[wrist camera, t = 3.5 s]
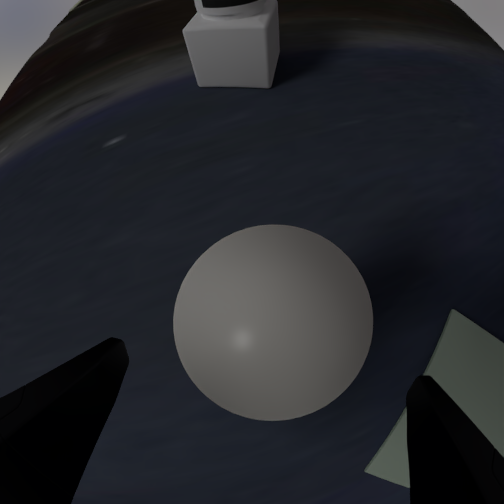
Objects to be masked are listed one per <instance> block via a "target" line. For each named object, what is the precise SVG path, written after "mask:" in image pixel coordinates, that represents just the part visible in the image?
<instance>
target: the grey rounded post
mask: <svg viewBox="0 0 504 504" xmlns="http://www.w3.org/2000/svg"><path fill="white" fill-rule="evenodd" d="M173 325H174V338H175V344H176V348H177V351H178V355H179V357H180V360H181V362H182V364H183V367H184V369H185V370H186V372H187V374H188V375H189V377H190V378H191V380H192V381H193V382H194V384H195V385H196V386H197V387H198V388H199V390H200V391H201V392H203V393H204V394H205V395H206V396H207V397H208V398H209V399H210V400H212V401H213V402H215V403H216V404H217V405H219V406H220V407H222V408H224V409H226V410H228V411H230V412H232V413H235V414H238V415H240V416H243V417H247V418H251V419H256V420H267V421H278V420H288V419H293V418H298V417H301V416H304V415H307V414H310V413H313V412H315V411H317V410H319V409H321V408H322V407H324V406H326V405H327V404H329V403H330V402H332V401H333V400H335V399H336V398H337V397H338V396H339V395H340V394H341V393H343V392H344V391H345V390H346V389H347V388H348V386H349V385H350V384H351V383H352V381H353V380H354V379H355V378H356V376H357V374H358V373H359V371H360V369H361V368H362V366H363V364H364V361H365V359H366V357H367V355H368V351H369V348H370V344H371V339H372V332H373V311H372V304H371V299H370V296H369V292H368V289H367V287H366V284H365V282H364V280H363V278H362V276H361V274H360V272H359V271H358V269H357V267H356V266H355V265H354V264H353V262H352V261H351V260H350V258H349V257H348V256H347V255H346V254H345V253H344V252H343V251H342V250H341V249H339V248H338V247H337V246H336V245H334V244H333V243H332V242H330V241H329V240H327V239H325V238H324V237H322V236H320V235H318V234H316V233H313V232H311V231H309V230H305V229H302V228H298V227H294V226H287V225H261V226H255V227H251V228H246V229H243V230H240V231H238V232H235V233H233V234H231V235H229V236H227V237H225V238H223V239H221V240H220V241H218V242H217V243H215V244H214V245H213V246H211V247H210V248H209V249H208V250H206V251H205V252H204V253H203V254H202V255H201V256H200V257H199V259H198V260H197V261H196V262H195V263H194V265H193V266H192V267H191V269H190V270H189V272H188V273H187V275H186V277H185V279H184V281H183V283H182V285H181V288H180V290H179V293H178V296H177V300H176V304H175V310H174V318H173Z"/></svg>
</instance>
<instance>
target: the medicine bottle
mask: <svg viewBox="0 0 504 504" xmlns="http://www.w3.org/2000/svg"><path fill="white" fill-rule="evenodd" d="M194 2H195V6H196V10H197V13H196V14H195V16H194V17H193V18H192V19H191V20H190V22H189V23H188V24H187V25H186V27H185V28H184V29H183V35H184V38H185V42H186V45H187V49H188V52H189V56H190V59H191V62H192V66H193V69H194V73H195V76H196V79H197V83H198V85H199V87H248V88H270V87H271V86H272V82H273V78H274V73H275V69H276V65H277V61H278V57H279V53H280V44H279V21H278V2H277V0H194Z"/></svg>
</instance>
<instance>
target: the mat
mask: <svg viewBox="0 0 504 504" xmlns="http://www.w3.org/2000/svg"><path fill="white" fill-rule="evenodd" d="M423 375H429V376H431V377H432V378H433V379H434V380H435V381H436V382H437V383H438V384H439V385H440V386H441V387H442V388H443V390H444V391H445V392H446V393H447V394H448V395H449V396H450V397H451V398H452V399H453V400H454V401H455V403H456V404H457V405H458V406H459V407H460V408H461V409H462V410H463V411H464V413H465V414H466V415H467V416H468V417H469V418H470V419H471V420H472V422H473V423H474V424H475V425H476V426H477V427H478V428H479V429H480V431H481V432H482V433H483V434H484V435H485V436H486V437H487V439H488V440H489V441H490V442H491V443H492V444H493V446H494V448H496V449H497V450H498V451H499V453H500V454H501V455H502V456H503V457H504V343H502V342H501V341H500V340H498V339H497V338H495V337H494V336H493V335H491V334H490V333H488V332H487V331H485V330H484V329H482V328H481V327H480V326H478V325H477V324H475V323H474V322H472V321H471V320H469V319H468V318H466V317H465V316H463V315H462V314H460V313H459V312H457V311H456V310H454V309H451V311H450V314H449V316H448V319H447V322H446V324H445V327H444V329H443V332H442V334H441V337H440V339H439V341H438V344H437V346H436V348H435V350H434V353H433V355H432V357H431V359H430V361H429V364H428V366H427V368H426V370H425V372H424V374H423ZM364 471H365V472H367V473H369V474H372V475H375V476H377V477H380V478H382V479H385V480H388V481H391V482H393V483H396V484H399V485H402V486H405V487H408V488H410V478H409V462H408V450H407V408H406V407H405V409H404V411H403V413H402V414H401V416H400V418H399V419H398V421H397V423H396V424H395V426H394V427H393V429H392V431H391V432H390V434H389V435H388V437H387V438H386V440H385V441H384V443H383V444H382V446H381V447H380V449H379V450H378V452H377V453H376V454H375V456H374V457H373V459H372V460H371V461H370V463H369V464H368V466H367V467H366V468H365V470H364Z"/></svg>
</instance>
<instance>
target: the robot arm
mask: <svg viewBox="0 0 504 504" xmlns="http://www.w3.org/2000/svg"><path fill="white" fill-rule="evenodd" d="M128 364H129V356H128V353H127V350H126V347H125V344H124V342H123V341H122V340H121V339H117V338H113V337H111V338H109V339H107V340H105V341H103V342H101V343H100V344H98V345H96V346H94V347H92V348H91V349H89V350H87V351H85V352H84V353H82V354H80V355H78V356H76V357H75V358H73V359H71V360H69V361H67V362H66V363H64V364H62V365H60V366H58V367H57V368H55V369H53V370H51V371H50V372H48V373H46V374H44V375H42V376H41V377H39V378H37V379H35V380H33V381H32V382H30V383H28V384H26V386H25V385H24V386H22V387H21V388H19V389H17V390H15V391H13V392H11V393H9V394H7V395H6V396H3V397H1V398H0V504H71V502H72V500H73V497H74V494H75V492H76V489H77V487H78V485H79V482H80V480H81V477H82V475H83V472H84V470H85V468H86V465H87V463H88V461H89V458H90V456H91V454H92V452H93V449H94V447H95V445H96V443H97V440H98V438H99V436H100V434H101V432H102V429H103V427H104V425H105V423H106V421H107V419H108V416H109V414H110V412H111V410H112V408H113V406H114V403H115V401H116V398H117V396H118V393H119V390H120V387H121V384H122V381H123V378H124V376H125V373H126V370H127V367H128ZM406 408H407V450H408V462H409V478H410V504H504V457H503V456H502V455H501V454H500V453H499V451H498V450H497V449H496V448H494V446H493V444H492V443H491V442H490V441H489V440H488V439H487V437H486V436H485V435H484V434H483V433H482V432H481V431H480V429H479V428H478V427H477V426H476V425H475V424H474V423H473V422H472V420H471V419H470V418H469V417H468V416H467V415H466V414H465V413H464V411H463V410H462V409H461V408H460V407H459V406H458V405H457V404H456V403H455V401H454V400H453V399H452V398H451V397H450V396H449V395H448V394H447V393H446V392H445V391H444V390H443V388H442V387H441V386H440V385H439V384H438V383H437V382H436V381H435V380H434V379H433V378H432V377H431V376H429V375H420V376H418V377H417V378H416V379H415V381H414V382H413V384H412V386H411V388H410V389H409V391H408V393H407V397H406Z"/></svg>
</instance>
